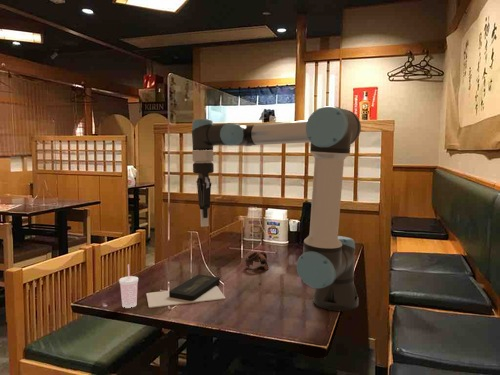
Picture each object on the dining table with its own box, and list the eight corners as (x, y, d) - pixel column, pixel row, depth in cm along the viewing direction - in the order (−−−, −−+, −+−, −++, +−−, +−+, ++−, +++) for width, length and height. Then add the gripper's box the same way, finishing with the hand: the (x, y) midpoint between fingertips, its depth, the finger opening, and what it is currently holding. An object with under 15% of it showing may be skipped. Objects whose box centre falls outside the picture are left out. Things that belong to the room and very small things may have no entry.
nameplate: (168, 297, 138) (192, 301, 135) (167, 291, 138) (192, 296, 134) (198, 278, 158) (220, 282, 154) (198, 274, 158) (220, 277, 154)
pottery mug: (265, 274, 167) (255, 257, 166) (248, 279, 172) (239, 263, 172) (276, 260, 177) (266, 244, 176) (260, 265, 182) (251, 250, 182)
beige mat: (225, 299, 138) (225, 297, 138) (148, 308, 130) (148, 307, 130) (216, 286, 150) (216, 285, 150) (146, 294, 142) (146, 293, 142)
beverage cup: (119, 309, 128) (118, 267, 127) (120, 302, 134) (119, 262, 133) (139, 307, 130) (138, 266, 129) (138, 300, 136) (137, 261, 135)
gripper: (217, 162, 139) (219, 228, 141) (208, 161, 152) (210, 222, 154) (197, 162, 137) (198, 230, 139) (189, 162, 149) (191, 224, 151)
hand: (204, 226), depth 146 cm, fingers closed
